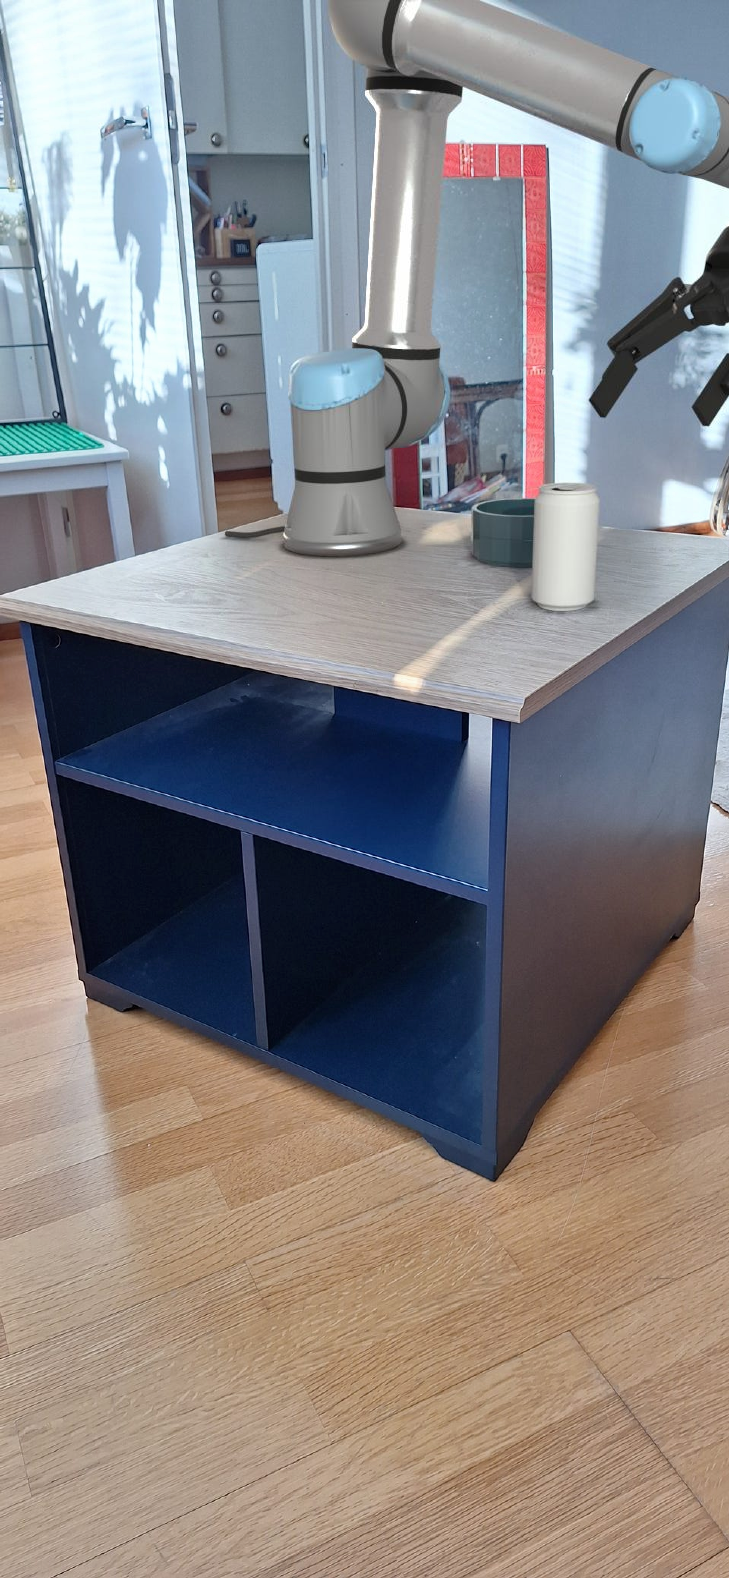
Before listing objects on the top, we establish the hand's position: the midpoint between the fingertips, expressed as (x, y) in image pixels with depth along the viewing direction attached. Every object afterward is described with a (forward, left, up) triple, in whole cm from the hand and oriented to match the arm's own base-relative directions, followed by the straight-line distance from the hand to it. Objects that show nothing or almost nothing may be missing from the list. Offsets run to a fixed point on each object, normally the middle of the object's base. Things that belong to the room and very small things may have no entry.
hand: (645, 413), depth 113 cm
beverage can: (-4, -10, -18) cm, 21 cm away
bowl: (-18, +8, -18) cm, 26 cm away
